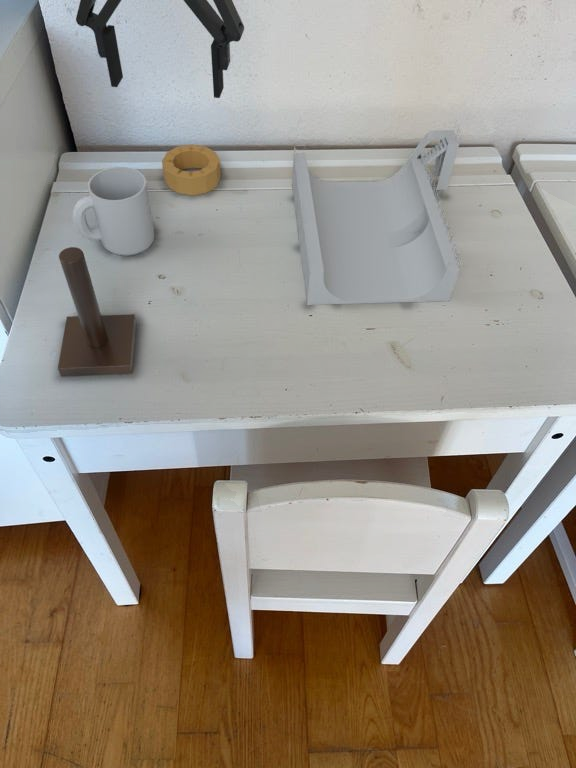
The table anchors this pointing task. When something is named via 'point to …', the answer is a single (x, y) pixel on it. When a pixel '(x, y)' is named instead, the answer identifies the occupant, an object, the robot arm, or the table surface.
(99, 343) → the stand
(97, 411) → the table surface
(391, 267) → the skate ramp
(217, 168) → the tape roll
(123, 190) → the cup
